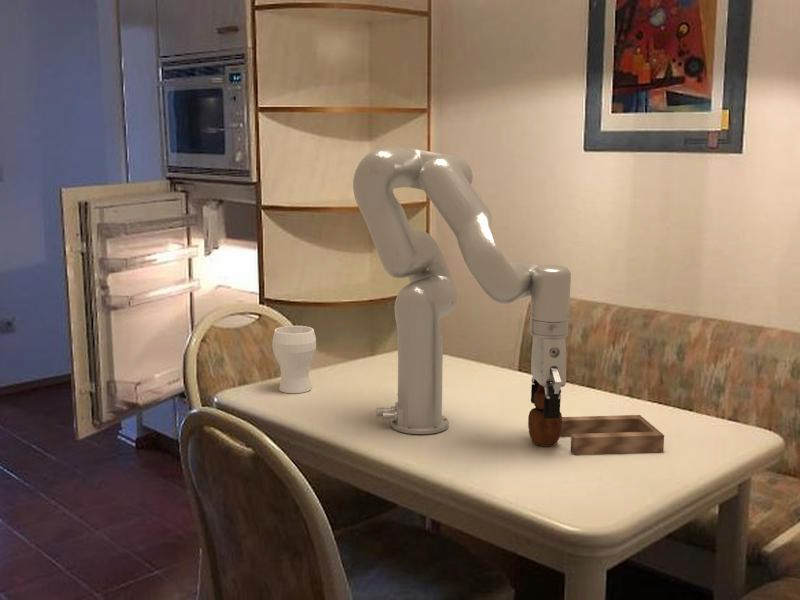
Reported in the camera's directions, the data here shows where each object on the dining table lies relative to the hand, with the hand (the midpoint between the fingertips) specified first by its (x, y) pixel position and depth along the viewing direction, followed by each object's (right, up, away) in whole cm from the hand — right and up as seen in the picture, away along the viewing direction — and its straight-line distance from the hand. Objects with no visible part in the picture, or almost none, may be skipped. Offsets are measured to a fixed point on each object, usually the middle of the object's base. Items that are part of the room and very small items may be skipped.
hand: (544, 410), depth 183 cm
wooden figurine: (0, -7, +1) cm, 7 cm away
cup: (-55, 0, +40) cm, 68 cm away
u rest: (+13, -7, +2) cm, 15 cm away
